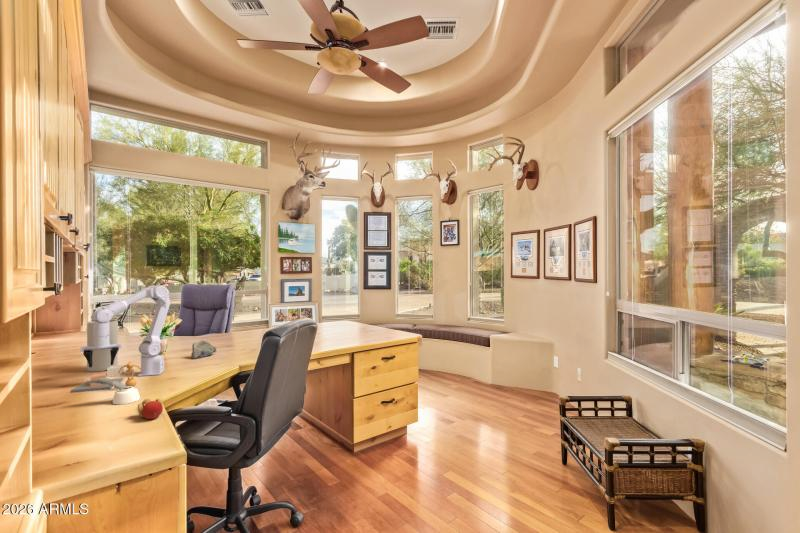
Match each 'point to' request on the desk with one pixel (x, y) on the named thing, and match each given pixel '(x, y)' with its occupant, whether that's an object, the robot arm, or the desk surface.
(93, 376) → the terracotta brick
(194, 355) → the mineral rock
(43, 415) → the desk surface
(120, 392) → the inkwell
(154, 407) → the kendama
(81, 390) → the baseplate
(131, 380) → the figurine
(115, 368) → the cream brick
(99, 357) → the cylinder vase
